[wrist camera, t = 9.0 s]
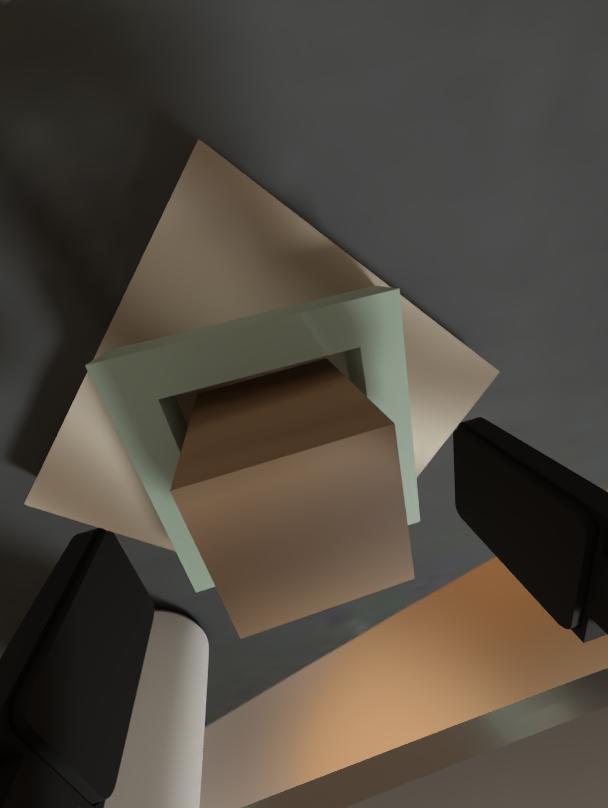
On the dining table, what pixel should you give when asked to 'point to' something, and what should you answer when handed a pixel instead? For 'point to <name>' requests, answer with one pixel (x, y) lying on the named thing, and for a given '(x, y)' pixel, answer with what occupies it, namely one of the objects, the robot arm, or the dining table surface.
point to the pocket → (244, 356)
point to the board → (223, 301)
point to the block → (293, 495)
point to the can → (166, 720)
